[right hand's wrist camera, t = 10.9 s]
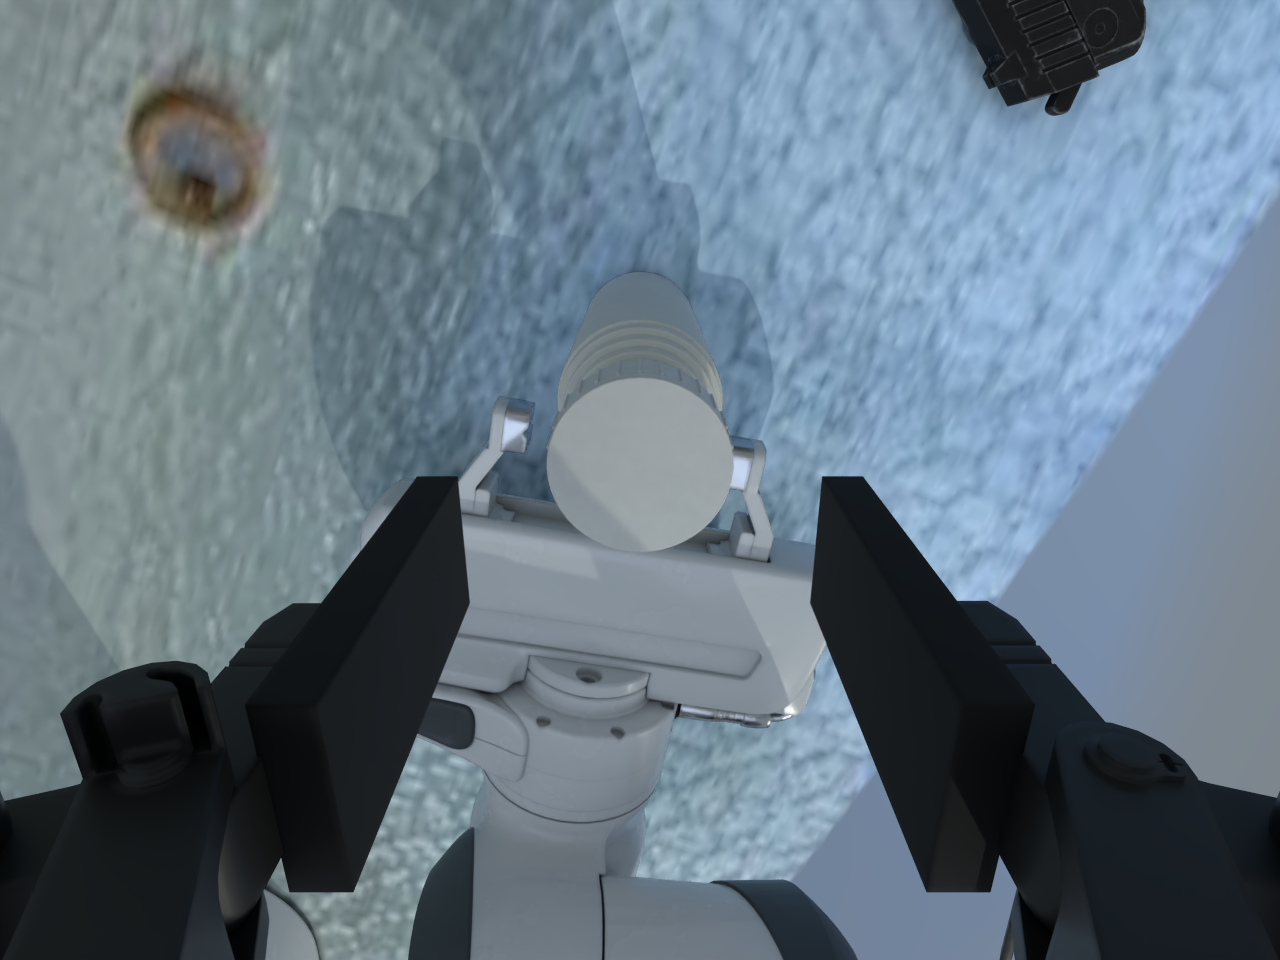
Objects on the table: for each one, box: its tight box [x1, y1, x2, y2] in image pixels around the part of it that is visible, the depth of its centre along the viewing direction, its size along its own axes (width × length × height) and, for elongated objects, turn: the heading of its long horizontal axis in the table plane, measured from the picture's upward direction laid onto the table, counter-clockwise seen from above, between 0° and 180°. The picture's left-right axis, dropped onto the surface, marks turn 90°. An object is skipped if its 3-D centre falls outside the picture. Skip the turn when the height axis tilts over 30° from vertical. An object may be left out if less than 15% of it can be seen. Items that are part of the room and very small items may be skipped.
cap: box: [546, 358, 734, 552], centre depth 19 cm, size 5×5×2 cm
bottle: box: [557, 272, 723, 412], centre depth 27 cm, size 5×5×18 cm
